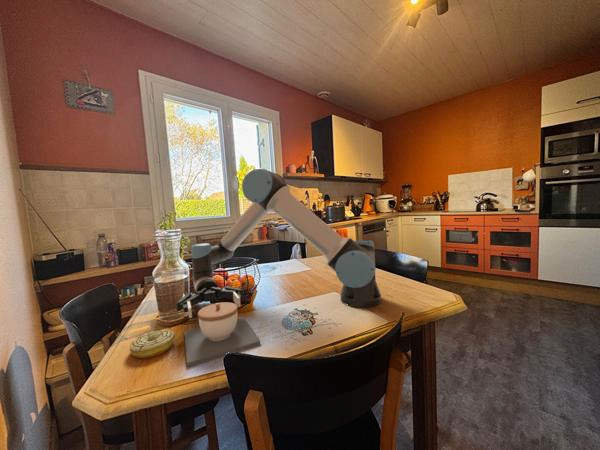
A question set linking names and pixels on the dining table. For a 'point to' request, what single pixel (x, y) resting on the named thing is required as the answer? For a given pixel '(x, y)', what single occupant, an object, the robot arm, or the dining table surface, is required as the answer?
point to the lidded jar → (218, 320)
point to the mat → (218, 343)
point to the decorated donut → (152, 343)
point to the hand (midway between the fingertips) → (215, 307)
